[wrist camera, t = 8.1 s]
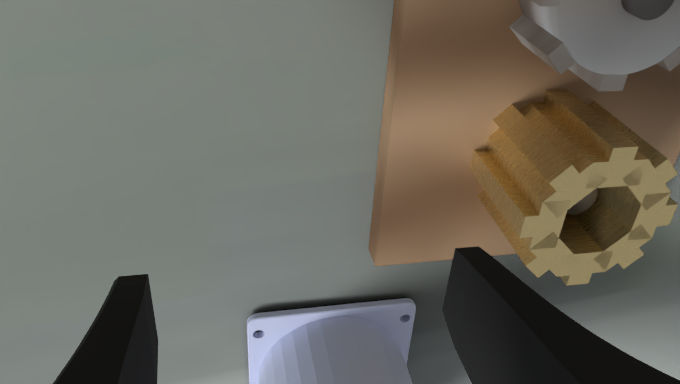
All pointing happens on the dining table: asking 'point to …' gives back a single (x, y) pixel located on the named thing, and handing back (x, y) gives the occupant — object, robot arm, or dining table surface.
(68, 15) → the dining table surface
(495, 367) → the robot arm
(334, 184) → the dining table surface
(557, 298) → the dining table surface
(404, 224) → the gear board
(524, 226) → the brass gear
